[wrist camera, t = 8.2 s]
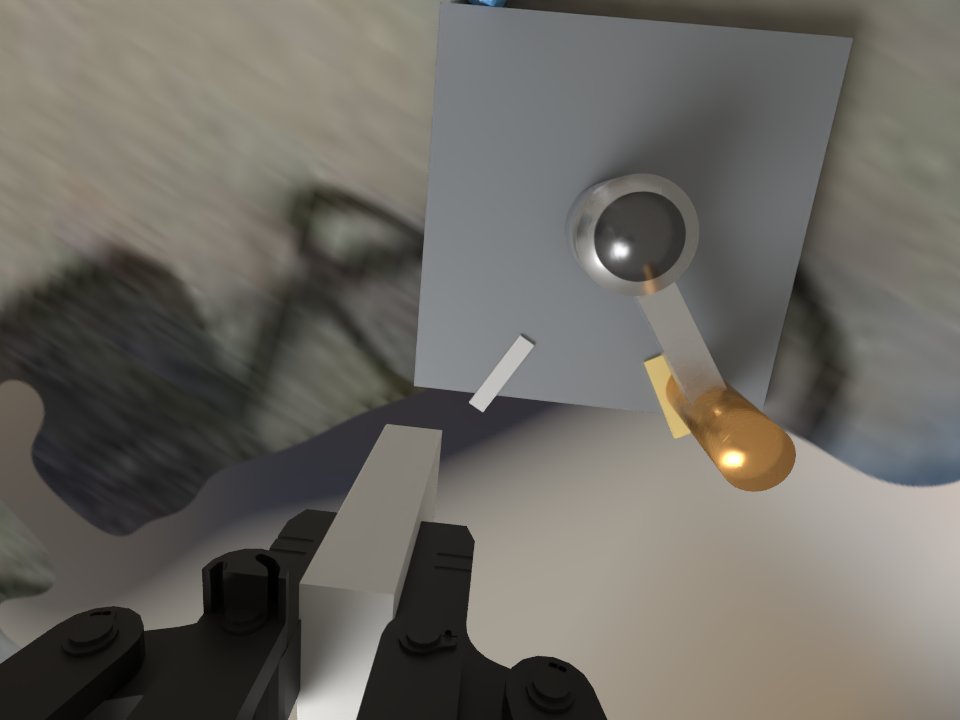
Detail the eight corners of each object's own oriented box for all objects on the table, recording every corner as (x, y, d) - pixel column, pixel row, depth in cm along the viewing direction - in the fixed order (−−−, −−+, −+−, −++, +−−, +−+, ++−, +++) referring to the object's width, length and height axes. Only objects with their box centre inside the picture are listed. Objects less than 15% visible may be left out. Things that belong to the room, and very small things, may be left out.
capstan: (547, 211, 30) (559, 214, 21) (634, 161, 29) (684, 142, 20) (661, 429, 33) (714, 512, 24) (744, 389, 32) (831, 461, 23)
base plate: (418, 396, 36) (411, 408, 34) (445, 14, 30) (439, 0, 28) (740, 432, 35) (755, 448, 33) (831, 48, 29) (857, 36, 27)
